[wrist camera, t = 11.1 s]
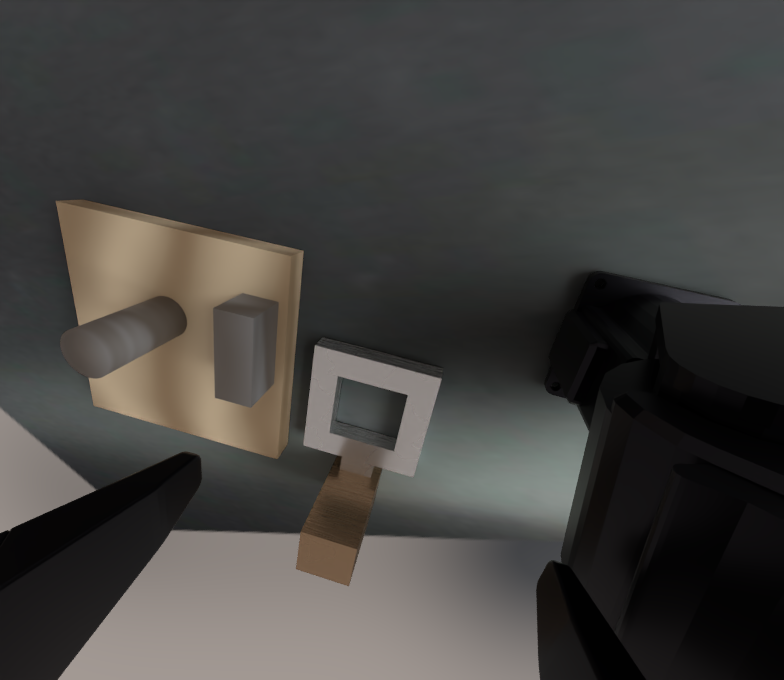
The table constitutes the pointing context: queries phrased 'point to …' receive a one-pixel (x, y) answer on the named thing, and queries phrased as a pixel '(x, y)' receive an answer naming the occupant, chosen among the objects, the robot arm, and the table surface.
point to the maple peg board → (183, 324)
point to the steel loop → (357, 449)
